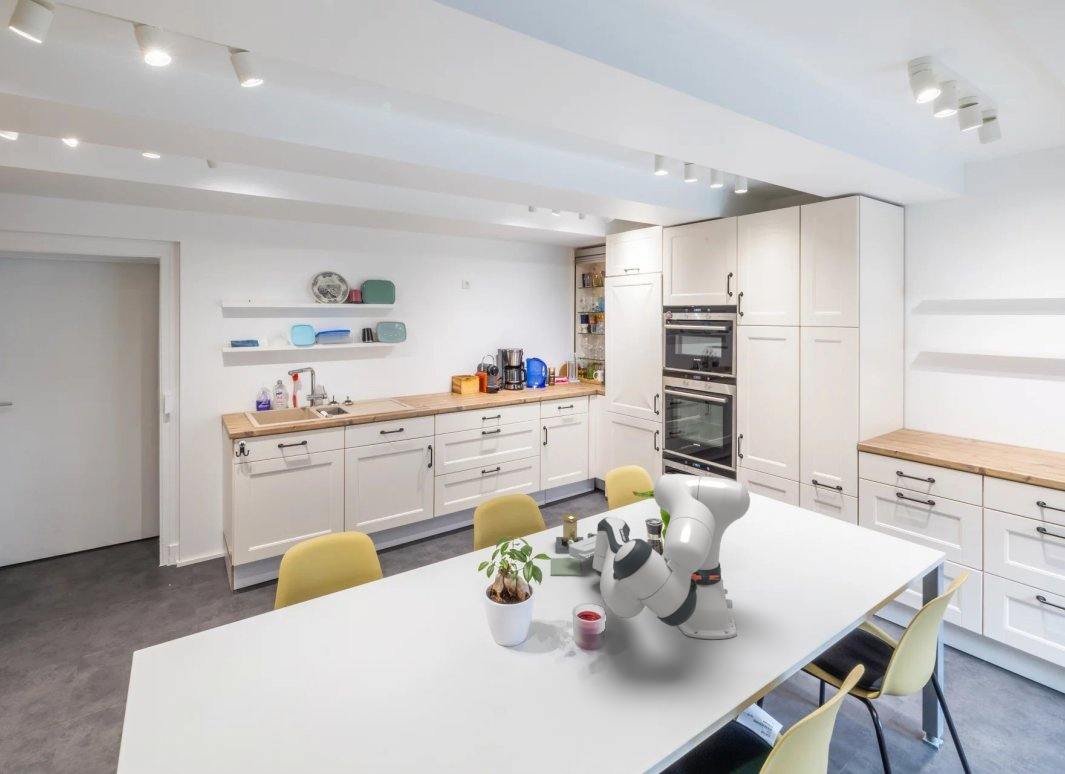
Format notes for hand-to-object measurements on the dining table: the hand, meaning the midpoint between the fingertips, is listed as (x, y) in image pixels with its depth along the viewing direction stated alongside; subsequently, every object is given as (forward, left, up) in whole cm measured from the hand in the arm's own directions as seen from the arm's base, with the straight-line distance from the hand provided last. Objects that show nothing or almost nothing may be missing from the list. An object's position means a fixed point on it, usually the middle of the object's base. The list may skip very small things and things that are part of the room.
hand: (579, 538), depth 191 cm
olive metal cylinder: (+6, +3, -6) cm, 9 cm away
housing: (+6, +3, -6) cm, 9 cm away
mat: (-9, +5, -6) cm, 12 cm away
